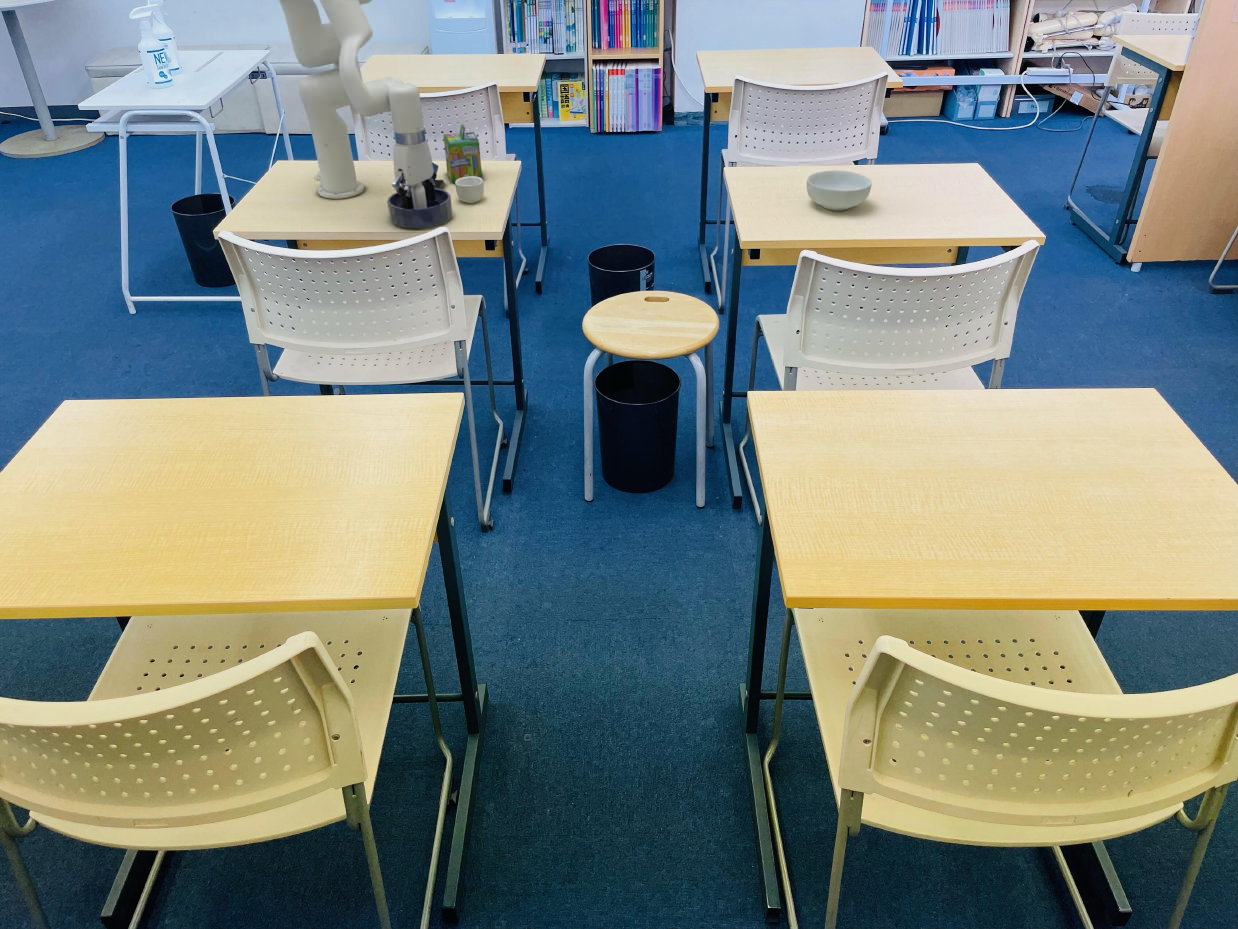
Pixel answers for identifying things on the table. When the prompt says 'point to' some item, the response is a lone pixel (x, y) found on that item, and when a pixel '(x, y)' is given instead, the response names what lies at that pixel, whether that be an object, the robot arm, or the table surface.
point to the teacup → (470, 189)
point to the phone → (437, 184)
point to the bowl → (421, 211)
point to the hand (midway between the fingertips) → (419, 204)
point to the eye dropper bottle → (419, 196)
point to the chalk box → (462, 155)
